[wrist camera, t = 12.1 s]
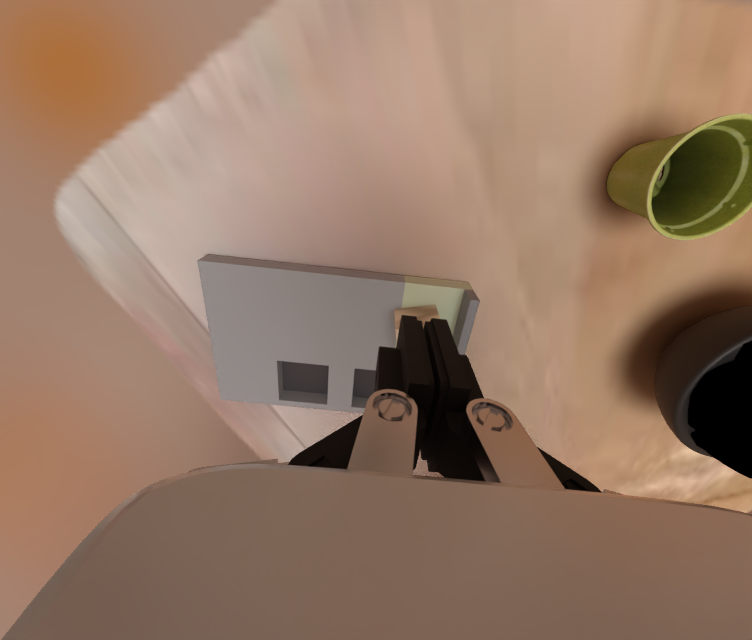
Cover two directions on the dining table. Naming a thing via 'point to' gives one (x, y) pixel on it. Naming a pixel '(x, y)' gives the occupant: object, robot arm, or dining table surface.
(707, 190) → the plant pot
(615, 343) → the dining table surface
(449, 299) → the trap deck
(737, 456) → the black bowl plant
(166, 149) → the dining table surface
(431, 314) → the block
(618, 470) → the dining table surface
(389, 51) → the dining table surface
